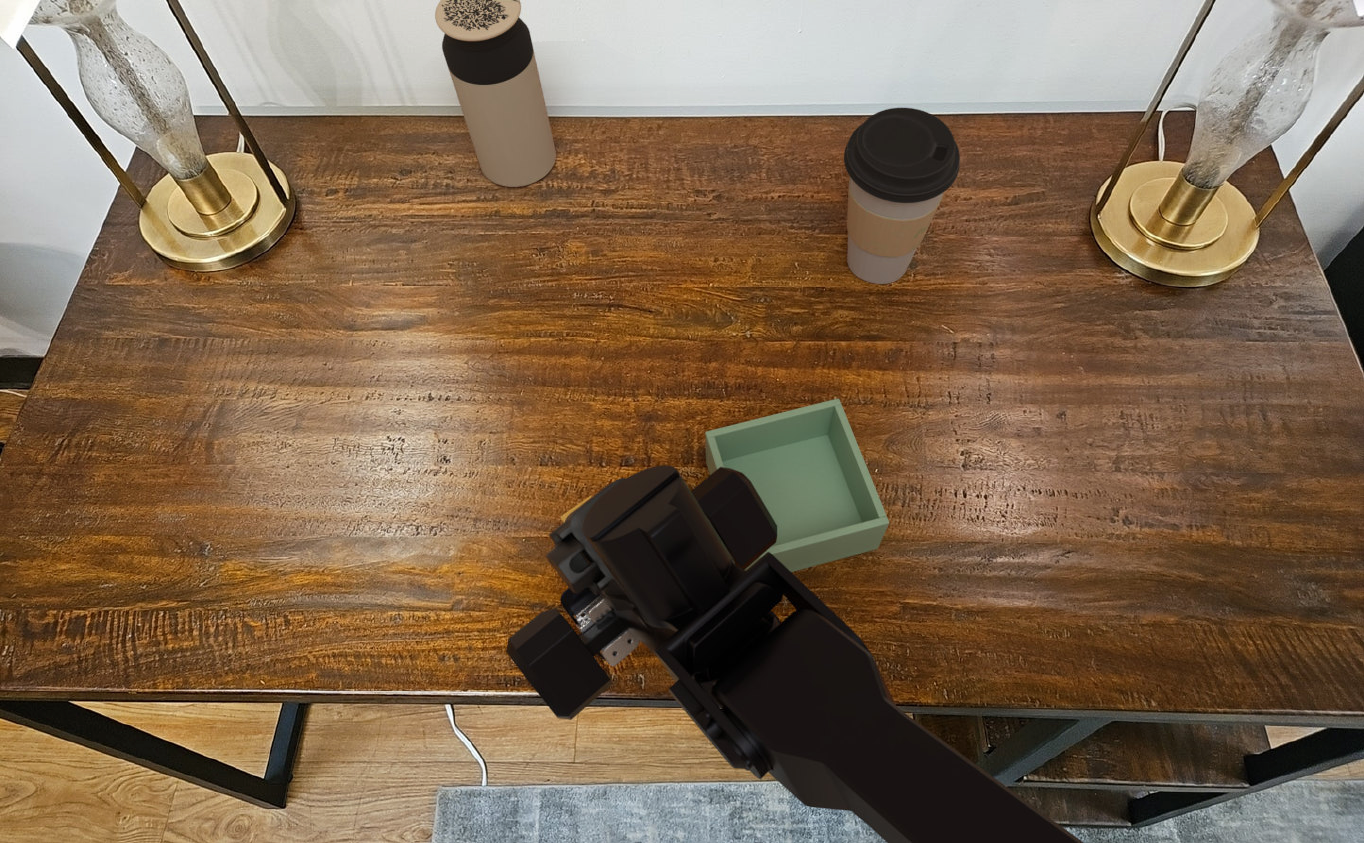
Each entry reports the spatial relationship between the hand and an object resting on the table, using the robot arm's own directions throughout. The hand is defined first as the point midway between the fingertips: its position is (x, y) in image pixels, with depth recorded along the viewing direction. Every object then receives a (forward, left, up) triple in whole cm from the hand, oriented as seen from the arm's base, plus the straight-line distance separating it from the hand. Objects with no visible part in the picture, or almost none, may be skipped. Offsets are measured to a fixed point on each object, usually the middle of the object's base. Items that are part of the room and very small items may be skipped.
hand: (602, 555), depth 65 cm
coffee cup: (+16, -37, -7) cm, 41 cm away
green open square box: (-1, -16, -7) cm, 17 cm away
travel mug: (+46, -13, -7) cm, 48 cm away
